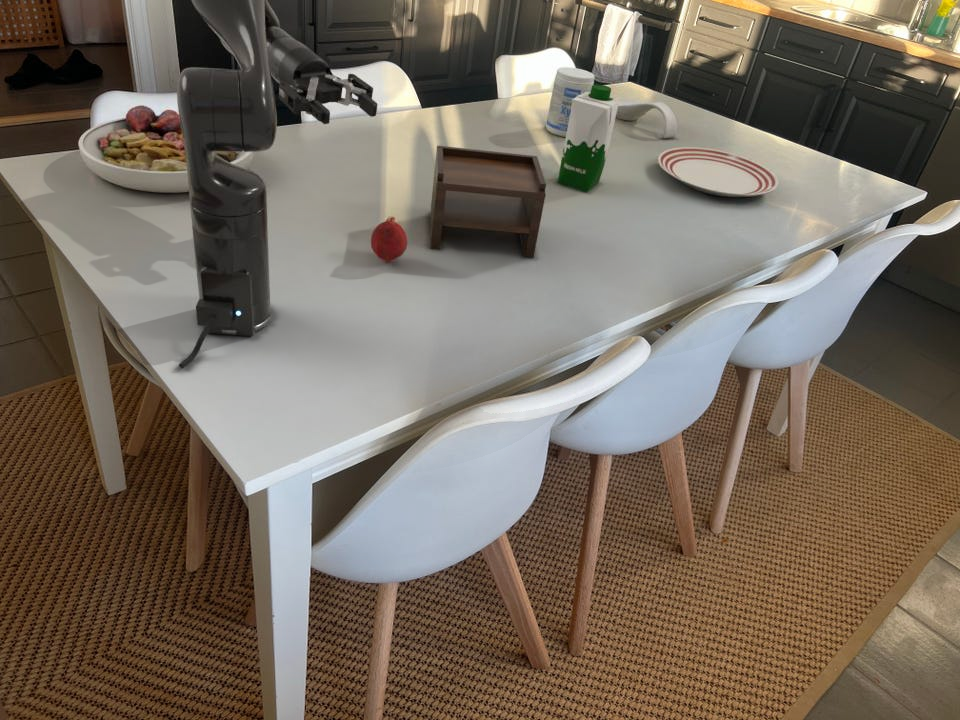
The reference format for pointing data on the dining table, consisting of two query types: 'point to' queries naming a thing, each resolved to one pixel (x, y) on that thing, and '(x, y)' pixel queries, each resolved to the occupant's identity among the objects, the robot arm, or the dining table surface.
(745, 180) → the dinner plate
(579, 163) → the milk carton
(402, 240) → the onion
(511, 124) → the dining table surface
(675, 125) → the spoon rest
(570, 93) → the supplement tub
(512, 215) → the shelf stand
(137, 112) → the bowl
